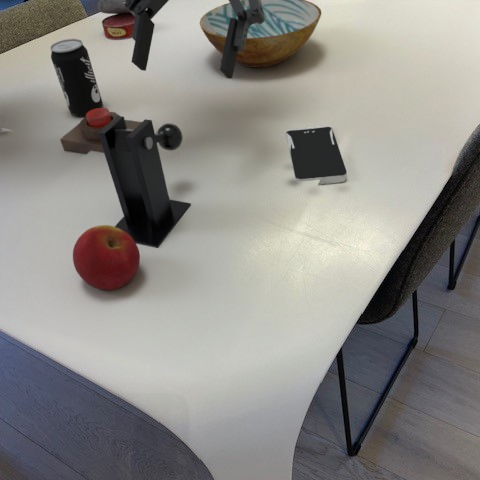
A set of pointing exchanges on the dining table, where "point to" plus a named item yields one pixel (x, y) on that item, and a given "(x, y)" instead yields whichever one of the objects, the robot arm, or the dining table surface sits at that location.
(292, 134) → the smartphone
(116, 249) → the apple
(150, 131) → the black lever stand
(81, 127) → the button block
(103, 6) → the canned food
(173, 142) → the black ball lever
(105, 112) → the button
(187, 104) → the dining table surface
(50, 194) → the dining table surface
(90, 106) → the beverage can
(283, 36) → the bowl
